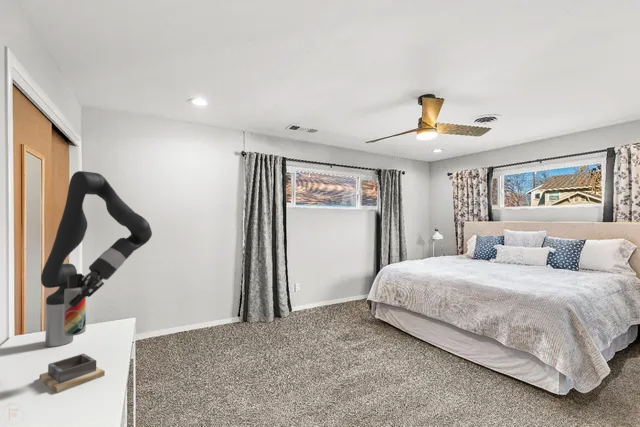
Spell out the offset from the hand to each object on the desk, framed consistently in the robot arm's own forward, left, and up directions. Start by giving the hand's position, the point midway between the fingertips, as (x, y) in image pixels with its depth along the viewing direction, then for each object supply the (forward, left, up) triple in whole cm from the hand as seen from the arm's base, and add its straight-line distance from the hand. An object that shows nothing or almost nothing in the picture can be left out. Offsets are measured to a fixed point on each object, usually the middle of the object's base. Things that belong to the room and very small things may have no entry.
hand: (68, 304), depth 106 cm
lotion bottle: (0, +2, -10) cm, 11 cm away
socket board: (0, +2, -25) cm, 25 cm away
